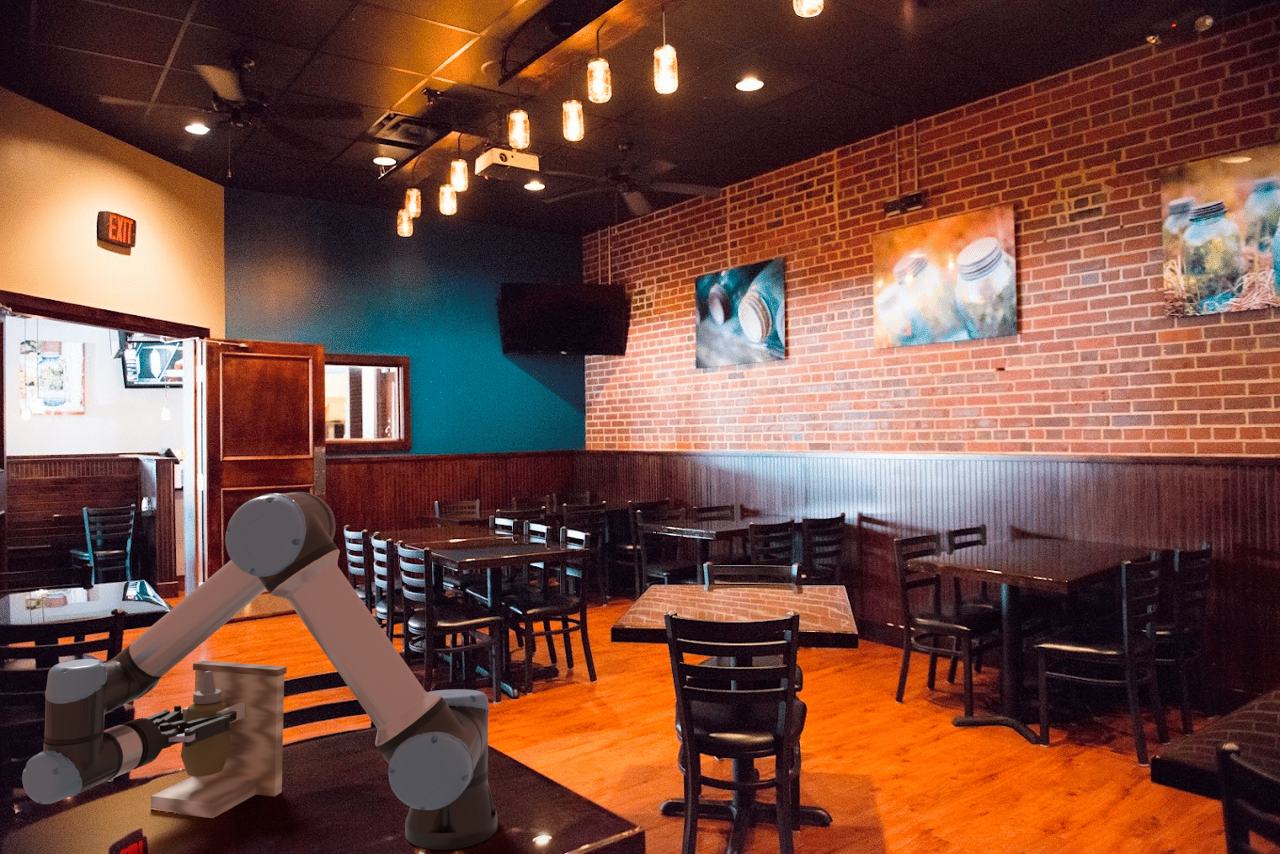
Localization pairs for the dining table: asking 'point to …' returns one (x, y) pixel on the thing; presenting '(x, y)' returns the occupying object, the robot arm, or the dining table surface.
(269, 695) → the wooden display stand
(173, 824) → the dining table surface
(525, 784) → the dining table surface
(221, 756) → the squeeze bottle
